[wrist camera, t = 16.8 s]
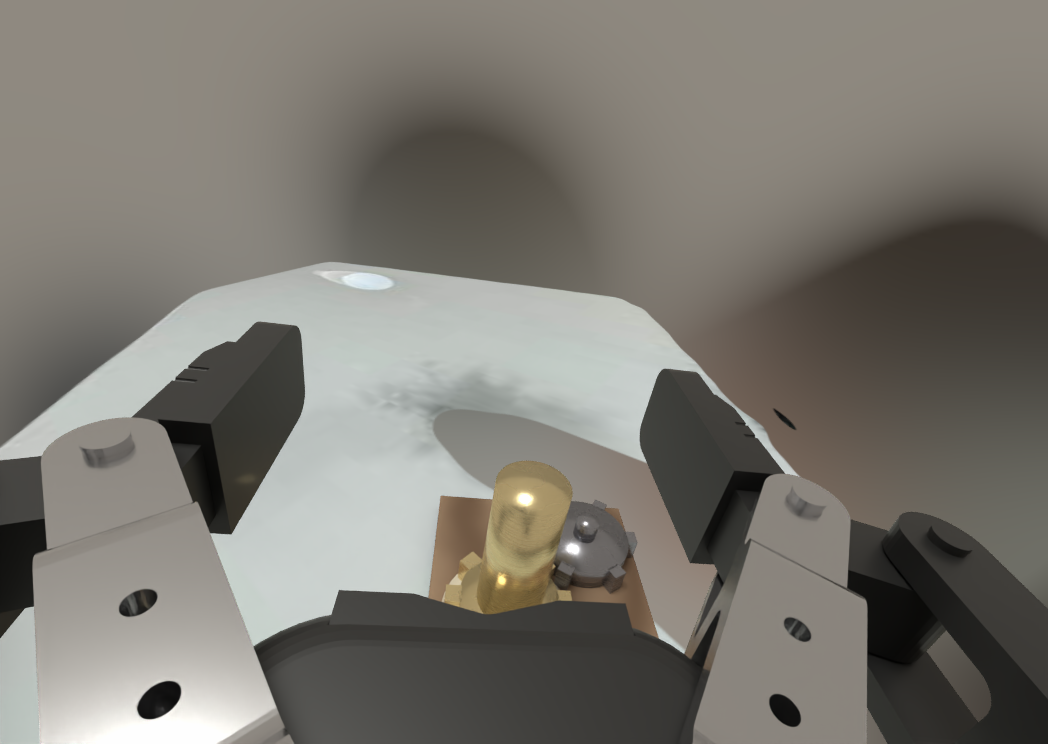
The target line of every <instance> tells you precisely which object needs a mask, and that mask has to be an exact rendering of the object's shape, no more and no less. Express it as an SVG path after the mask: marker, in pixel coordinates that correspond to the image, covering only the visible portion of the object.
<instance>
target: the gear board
mask: <svg viewBox="0 0 1048 744" xmlns="http://www.w3.org/2000/svg"><path fill="white" fill-rule="evenodd" d="M491 506H492V500H491V499H477V498H464V497H450V496H441V498H440V506H439V515H438V523H437V531H436V540H435V548H434V556H433V565H432V573H431V581H430V590H429V598H430V599H434V600H437V601H440V602H444V599H445V591H446V584H448V585H461V582H462V581H461V580H460V579H459V578H458V571H459V564H460V560H462V559H463V558H465V557H466V556H467V555H469V554H470V553H471V552H474V553H475V554H476V555H477V556H478V557H480V558H481V559H482V558H483V552H484V547H485V541H486V535H487V529H488V524H489V518H490V512H491ZM605 511H606V512H608V513H609V514H611V515H612V516H613V517H614V518H615V519H616V520H617V521H618V522H619V523H620V524H621V526H622V527H623V529H624V526H623V522H622V519H621V516H620V513H619V509H615V508H606V509H605ZM624 531H625V529H624ZM622 569H623V570H624V571H625V572H626V575H625V577H624V580H623V582H622V585H621V587H620V589H618V590H616V591H615V592H613V593H611V594H609V592H608V591H607V590H606V589H605V588H604V586H602V587H598V588H581V587H576V586H573V585H569V587H568V589H567V591H571V597H572V601H583V602H605V603H626V607H627V610H628V614H629V618H630V622H631V625H632V628H635V629H638V630H640V631H643V632H645V633H648V634H650V635H652V636H655V637H657V638H658V635H657V631H656V628H655V625H654V622H653V618H652V615H651V612H650V609H649V606H648V603H647V599H646V596H645V593H644V590H643V586H642V583H641V580H640V577H639V574H638V570H637V567H636V564H635V561H634V558H633V556H632V558H626V559H625V561H624V564H623V567H622ZM552 580H553V582H554V580H555V576H554V575H553V578H552ZM555 586H556V585H555ZM556 589H557V590H561V589H560V588H558V587H557V586H556ZM658 639H659V638H658Z"/></svg>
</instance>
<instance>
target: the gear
mask: <svg viewBox="0 0 1048 744" xmlns="http://www.w3.org/2000/svg"><path fill="white" fill-rule="evenodd" d="M605 509H606V504H604V503H602V502H600V501H597V500H595V501H594V503H593V505H592V504H588V503H584V502H574V501H571V503H570V507H569V510H568V514H567V517H566V521H565V525H564V528H563V532H562V535H561V539H560V542H559V546H558V550H557V553H556V557H555V560H554V565H555V566H556V567H555V571H554V574H553V575H554V576H555V580H554V584H555V585H556V586H557V587H558V588H560V589H561V590H565V591H567V589H568V587H569V585H573V586H576V587H581V588H598V587H602V586H604V588H605V589H606V590H607V591H608V592H609V594H611V593H613V592H615V591H616V590H618V589H620V587H621V585H622V582H623V580H624V577H625V575H626V572H625V571H624V570H623V569H622V567H623V564H624V561H625V559H626V558H632V556H633V553H634V550H635V548H636V545H637V540H636V537H635V534H634V532H625V531H624V529H623V527H622V526H621V524H620V523H619V522H618V521H617V520H616V519H615V518H614V517H613V516H612V515H611V514H609V513H608V512H606V511H605Z"/></svg>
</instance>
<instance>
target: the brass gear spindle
mask: <svg viewBox="0 0 1048 744" xmlns="http://www.w3.org/2000/svg"><path fill="white" fill-rule="evenodd" d="M571 499H572V487H571V485H570V482H569V481H568V480H567V478H566V477H565V476H564V475H563V474H562V473H561V472H560V471H558V470H557V469H555V468H553V467H551V466H549V465H547V464H544V463H540V462H535V461H519V462H515V463H512V464H509V465H507V466H506V467H504V468H503V469H502V470H501V471H500V472H499V473H498V476H497V478H496V484H495V489H494V495H493V500H492V506H491V512H490V518H489V524H488V529H487V535H486V541H485V547H484V552H483V558H482V559H481V558H480V557H478V556H477V555H476V554H475V553H474V552H471V553H470V554H469V555H467V556H466V557H465V558H463V559H462V560H460V564H459V571H458V578H459V579H460V580H461V581H462V582H461V585H448V584H446V591H445V599H444V603H447V604H451V605H454V606H458V607H461V608H464V609H468V610H471V611H475V612H478V613H482V614H496V613H501V612H506V611H511V610H516V609H520V608H525V607H530V606H535V605H540V604H544V603H549V602H554V601H559V600H562V601H572V597H571V591H565V590H557V589H556V586H555V584H554V582H553V580H552V578H553V574H554V571H555V567H556V566H555V565H554V560H555V557H556V553H557V550H558V546H559V542H560V539H561V535H562V532H563V528H564V525H565V521H566V517H567V514H568V510H569V507H570V503H571Z"/></svg>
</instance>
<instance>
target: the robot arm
mask: <svg viewBox="0 0 1048 744" xmlns="http://www.w3.org/2000/svg"><path fill="white" fill-rule="evenodd" d="M304 398H305V384H304V370H303V355H302V341H301V333H300V330H299V328H298V327H297V326H294V325H285V324H276V323H267V322H256V323H255V324H254V325H253V326H252V327H251V328H250V329H249V330H248V331H247V332H246V333H245V334H244V335H243V336H242V337H241V338H240V339H239V340H238V341H237V342H228V341H227V342H225V343H223V344H221V345H218V346H216V347H214V348H212V349H209V350H207V351H205V352H203V353H202V354H201V355H200V356H199V357H198V358H197V359H195V360H194V361H193V362H192V363H191V364H190V365H189V366H188V369H184V370H183V371H182V372H181V373H180V374H179V375H178V376H177V377H176V379H175V381H171V382H170V383H169V384H168V385H167V386H166V387H165V388H163V389H162V390H161V391H160V392H159V393H158V394H157V395H156V396H155V397H154V398H152V399H151V400H150V401H149V402H148V403H147V404H146V405H145V406H144V407H142V408H141V409H140V410H139V411H138V412H137V413H136V414H135V415H134V416H133V417H131V418H115V419H108V420H102V421H98V422H94V423H91V424H88V425H85V426H82V427H79V428H77V429H74V430H72V431H70V432H68V433H66V434H64V435H63V436H61V437H59V438H58V439H56V440H55V441H54V442H53V443H51V444H50V445H49V446H48V447H47V449H46V450H45V451H44V453H43V455H42V456H38V457H29V458H20V459H10V460H1V461H0V638H1V637H2V635H3V634H4V633H5V632H6V631H7V629H8V628H9V627H10V626H11V625H12V623H13V622H14V621H15V620H16V618H17V617H18V616H19V615H20V614H21V612H22V611H23V610H24V609H25V608H28V607H33V606H34V614H35V637H36V660H37V683H38V706H39V729H40V744H867V708H868V710H869V711H870V713H871V715H872V717H873V719H874V720H875V722H876V723H877V725H878V727H879V729H880V731H881V732H882V734H883V736H884V738H885V740H886V742H887V743H888V744H1048V609H1047V608H1046V607H1045V606H1044V605H1043V604H1042V603H1041V602H1040V601H1039V600H1038V599H1037V598H1036V597H1035V596H1034V595H1033V594H1032V593H1031V592H1030V591H1029V590H1028V589H1027V588H1026V587H1024V585H1022V583H1021V582H1019V581H1018V580H1017V579H1016V578H1015V577H1014V576H1013V575H1012V574H1011V573H1010V572H1009V571H1008V570H1007V569H1006V568H1005V567H1004V566H1003V565H1002V564H1001V563H1000V562H999V561H998V560H997V559H996V558H995V557H994V556H993V555H992V554H991V553H989V551H988V550H987V549H985V548H984V547H983V546H982V545H981V544H980V543H979V542H977V541H976V540H975V539H974V538H972V537H971V536H969V535H968V534H967V533H965V532H964V531H962V530H960V529H959V528H957V527H955V526H953V525H952V524H950V523H948V522H945V521H943V520H941V519H939V518H936V517H933V516H931V515H927V514H923V513H918V512H907V513H903V514H902V515H900V516H899V518H898V519H897V520H896V522H895V523H894V524H893V526H892V527H891V529H890V530H889V531H887V530H883V529H880V528H877V527H874V526H870V525H867V524H864V523H861V522H857V521H854V520H851V519H850V516H849V513H848V512H847V510H846V508H845V507H844V506H843V504H842V503H841V502H840V501H839V500H838V499H837V498H836V497H835V496H833V495H832V494H831V493H829V492H828V491H827V490H825V489H824V488H822V487H820V486H819V485H817V484H815V483H813V482H811V481H809V480H806V479H804V478H801V477H798V476H794V475H789V474H785V473H784V472H783V470H782V469H781V468H780V467H779V465H778V464H777V463H776V461H775V460H774V459H773V458H772V456H771V455H770V454H769V452H768V451H767V450H766V449H765V447H764V446H763V445H762V443H761V442H760V441H759V440H758V438H755V434H754V433H753V432H752V431H751V429H750V428H749V427H748V426H745V424H746V423H745V422H744V420H743V419H742V418H741V416H740V415H739V414H738V413H737V411H736V410H735V409H734V408H733V407H732V406H730V405H729V404H728V403H726V402H725V401H723V400H722V399H721V398H719V397H718V396H717V395H714V394H713V393H712V391H711V390H710V389H709V387H708V386H707V385H706V383H705V382H704V381H703V379H702V378H701V377H700V375H699V374H698V373H696V372H690V371H681V370H673V369H663V370H662V371H661V372H660V373H659V375H658V377H657V379H656V382H655V385H654V388H653V391H652V394H651V397H650V400H649V403H648V406H647V409H646V412H645V415H644V418H643V421H642V424H641V429H640V446H641V449H642V452H643V454H644V457H645V459H646V461H647V464H648V466H649V468H650V470H651V473H652V475H653V478H654V480H655V482H656V485H657V487H658V489H659V492H660V494H661V496H662V499H663V501H664V503H665V506H666V508H667V510H668V513H669V515H670V517H671V520H672V522H673V524H674V527H675V529H676V531H677V533H678V536H679V538H680V541H681V543H682V545H683V548H684V550H685V552H686V555H687V557H688V559H689V562H690V563H699V564H714V565H715V567H716V569H717V573H716V575H715V577H714V579H713V581H712V583H711V585H710V588H709V590H708V593H707V596H706V598H705V601H704V604H703V606H702V609H701V612H700V614H699V617H698V620H697V622H696V625H695V628H694V630H693V633H692V635H691V638H690V641H689V643H688V646H687V649H686V651H685V654H683V653H682V652H680V651H679V650H677V649H676V648H674V647H673V646H671V645H670V644H668V643H666V642H664V641H662V640H660V639H658V638H657V637H655V636H652V635H650V634H648V633H645V632H643V631H640V630H638V629H635V628H632V625H631V622H630V618H629V614H628V610H627V607H626V603H605V602H583V601H562V600H559V601H554V602H549V603H544V604H540V605H535V606H530V607H525V608H520V609H516V610H511V611H506V612H501V613H496V614H482V613H478V612H475V611H471V610H468V609H464V608H461V607H458V606H454V605H451V604H447V603H444V602H440V601H437V600H434V599H430V598H427V597H423V596H420V595H416V594H410V593H388V592H366V591H344V590H339V592H338V595H337V598H336V602H335V605H334V608H333V612H332V615H329V616H324V617H319V618H316V619H312V620H309V621H306V622H303V623H299V624H297V625H295V626H292V627H290V628H288V629H285V630H283V631H280V632H278V633H277V634H275V635H273V636H271V637H269V638H267V639H265V640H263V641H262V642H260V643H258V644H257V645H255V646H254V647H253V645H252V642H251V639H250V637H249V634H248V631H247V629H246V626H245V624H244V621H243V618H242V616H241V613H240V611H239V608H238V605H237V603H236V600H235V597H234V595H233V592H232V590H231V587H230V584H229V582H228V579H227V577H226V574H225V571H224V569H223V566H222V563H221V561H220V558H219V556H218V553H217V550H216V548H215V545H214V543H213V540H212V537H211V535H210V533H217V534H232V532H233V531H234V529H235V527H236V525H237V524H238V522H239V520H240V519H241V517H242V515H243V514H244V512H245V510H246V508H247V507H248V505H249V503H250V502H251V500H252V498H253V496H254V495H255V493H256V491H257V490H258V488H259V486H260V484H261V483H262V481H263V479H264V478H265V476H266V474H267V472H268V471H269V469H270V467H271V466H272V464H273V462H274V460H275V459H276V457H277V455H278V454H279V452H280V450H281V449H282V447H283V445H284V443H285V442H286V440H287V438H288V437H289V435H290V433H291V431H292V430H293V428H294V426H295V425H296V423H297V421H298V419H299V417H300V415H301V412H302V409H303V405H304ZM946 630H947V631H948V633H949V634H950V635H951V636H952V637H953V639H954V640H955V641H956V643H957V644H958V645H959V646H960V647H961V649H962V650H963V651H964V653H965V654H966V655H967V656H968V658H969V659H970V660H971V661H972V663H973V664H974V665H975V666H976V668H977V669H978V670H979V671H980V673H981V674H982V675H983V677H984V678H985V680H986V682H987V685H988V687H989V690H990V693H991V700H992V701H991V708H990V711H989V713H988V714H987V715H986V716H985V717H984V718H983V719H982V720H981V721H980V722H978V721H977V720H976V719H975V717H974V716H973V715H972V713H971V712H970V710H969V709H968V708H967V706H966V705H965V704H964V702H963V701H962V699H961V698H960V697H959V695H958V694H957V693H956V692H955V690H954V689H953V687H952V686H951V684H950V683H949V682H948V680H947V679H946V678H945V677H944V675H943V673H942V672H941V671H940V670H939V668H938V667H937V665H936V664H935V662H934V661H933V660H932V658H931V657H930V656H929V654H928V653H927V652H926V651H927V650H928V649H929V648H930V647H931V646H932V645H933V644H934V643H935V642H936V641H937V639H938V638H939V637H940V636H941V635H942V634H943V633H944V632H945V631H946Z"/></svg>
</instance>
